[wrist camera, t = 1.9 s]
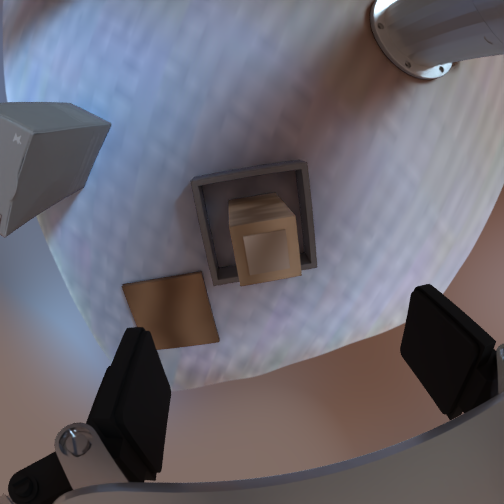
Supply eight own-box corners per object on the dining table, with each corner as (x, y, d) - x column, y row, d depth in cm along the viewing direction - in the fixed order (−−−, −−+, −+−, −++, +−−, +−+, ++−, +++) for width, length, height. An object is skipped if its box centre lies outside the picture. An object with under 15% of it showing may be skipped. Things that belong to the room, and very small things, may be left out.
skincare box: (72, 102, 25) (-23, 93, 11) (119, 127, 27) (34, 125, 13) (44, 168, 28) (-50, 199, 13) (87, 195, 30) (1, 242, 15)
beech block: (275, 192, 31) (295, 216, 22) (280, 236, 33) (302, 276, 24) (228, 200, 31) (228, 227, 22) (236, 243, 33) (240, 287, 24)
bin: (299, 159, 30) (307, 162, 28) (310, 256, 34) (317, 267, 32) (193, 177, 30) (190, 181, 27) (214, 273, 34) (213, 285, 32)
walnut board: (201, 271, 34) (201, 273, 33) (219, 339, 38) (219, 341, 37) (123, 284, 34) (121, 286, 33) (148, 347, 38) (147, 350, 37)
